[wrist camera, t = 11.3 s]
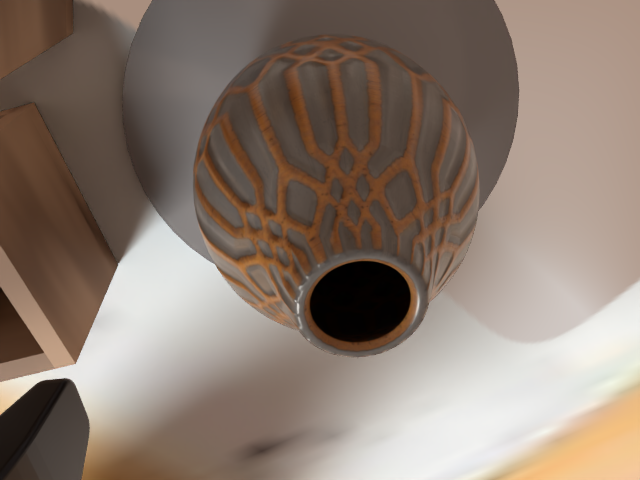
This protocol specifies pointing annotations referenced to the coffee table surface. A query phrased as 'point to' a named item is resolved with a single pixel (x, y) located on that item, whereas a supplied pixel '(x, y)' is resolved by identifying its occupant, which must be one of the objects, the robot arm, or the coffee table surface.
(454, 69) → the coaster
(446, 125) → the vase
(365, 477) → the coffee table surface
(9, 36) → the box
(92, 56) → the coffee table surface
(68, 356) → the box
